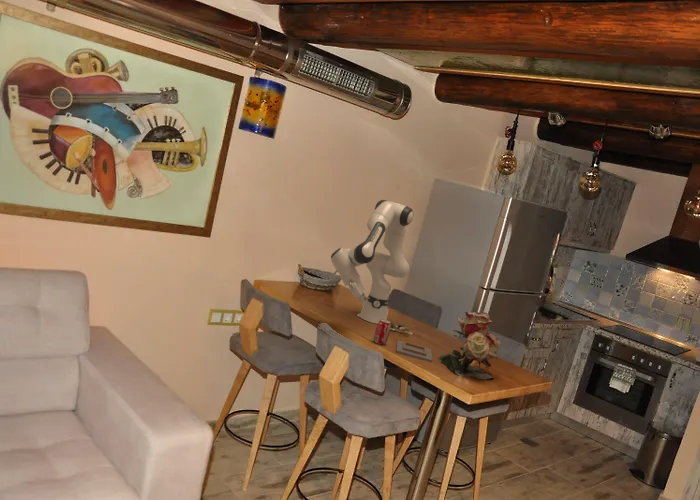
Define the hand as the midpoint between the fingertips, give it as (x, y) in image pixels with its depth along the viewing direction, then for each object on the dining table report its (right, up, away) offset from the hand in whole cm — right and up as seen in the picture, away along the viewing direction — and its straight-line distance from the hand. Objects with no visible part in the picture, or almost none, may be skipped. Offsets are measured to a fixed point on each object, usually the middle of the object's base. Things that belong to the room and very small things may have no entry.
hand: (365, 302), depth 314 cm
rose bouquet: (+51, -34, -6) cm, 61 cm away
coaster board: (+25, -25, +2) cm, 36 cm away
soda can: (+7, -21, +2) cm, 22 cm away
